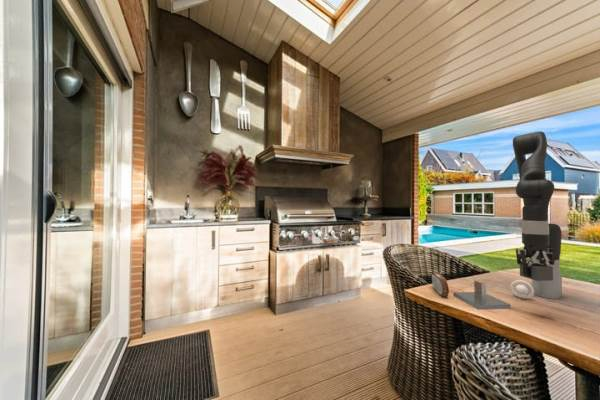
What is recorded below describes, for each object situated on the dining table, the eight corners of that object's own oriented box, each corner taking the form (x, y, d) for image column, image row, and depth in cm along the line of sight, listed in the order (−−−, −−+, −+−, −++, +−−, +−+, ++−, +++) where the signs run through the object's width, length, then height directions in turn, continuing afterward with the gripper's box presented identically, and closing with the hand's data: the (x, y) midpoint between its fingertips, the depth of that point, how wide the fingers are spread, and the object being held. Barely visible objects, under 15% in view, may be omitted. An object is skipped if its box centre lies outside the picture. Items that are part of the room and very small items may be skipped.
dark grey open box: (519, 275, 96) (519, 262, 96) (535, 275, 96) (534, 261, 96) (537, 281, 89) (536, 266, 89) (553, 280, 90) (552, 266, 90)
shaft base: (482, 295, 112) (482, 276, 112) (510, 308, 98) (510, 286, 98) (453, 295, 111) (453, 276, 111) (477, 309, 97) (477, 287, 98)
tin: (449, 299, 107) (449, 280, 108) (441, 298, 108) (441, 279, 108) (437, 287, 122) (437, 270, 122) (430, 287, 123) (430, 270, 123)
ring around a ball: (535, 300, 107) (535, 281, 107) (531, 303, 103) (531, 284, 103) (511, 294, 113) (511, 277, 113) (507, 297, 110) (507, 279, 110)
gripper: (542, 230, 97) (542, 272, 97) (508, 231, 96) (509, 274, 96) (563, 233, 90) (564, 278, 89) (527, 234, 89) (528, 280, 88)
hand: (535, 276), depth 93 cm, fingers closed on dark grey open box, 6 cm apart
